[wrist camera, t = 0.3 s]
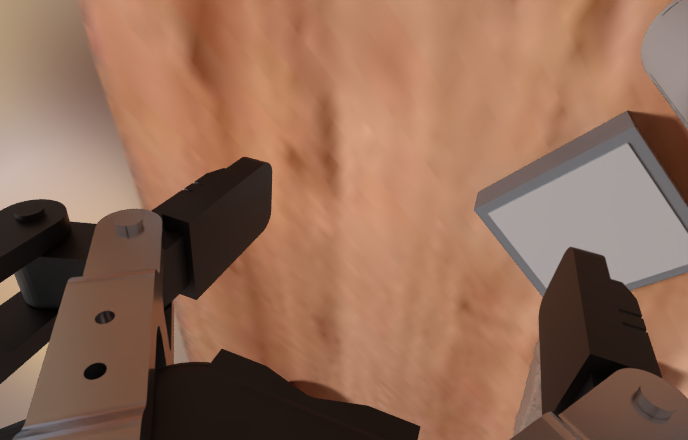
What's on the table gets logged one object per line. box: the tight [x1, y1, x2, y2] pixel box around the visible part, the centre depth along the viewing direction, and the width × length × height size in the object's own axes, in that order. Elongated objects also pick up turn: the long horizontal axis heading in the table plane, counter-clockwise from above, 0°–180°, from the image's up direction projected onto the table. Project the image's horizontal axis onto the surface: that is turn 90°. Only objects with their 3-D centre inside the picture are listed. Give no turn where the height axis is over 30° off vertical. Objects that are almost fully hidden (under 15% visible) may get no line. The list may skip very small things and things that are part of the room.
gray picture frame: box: [474, 111, 688, 297], centre depth 34 cm, size 12×12×3 cm
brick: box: [513, 341, 542, 437], centre depth 44 cm, size 16×8×5 cm, turn 2°
